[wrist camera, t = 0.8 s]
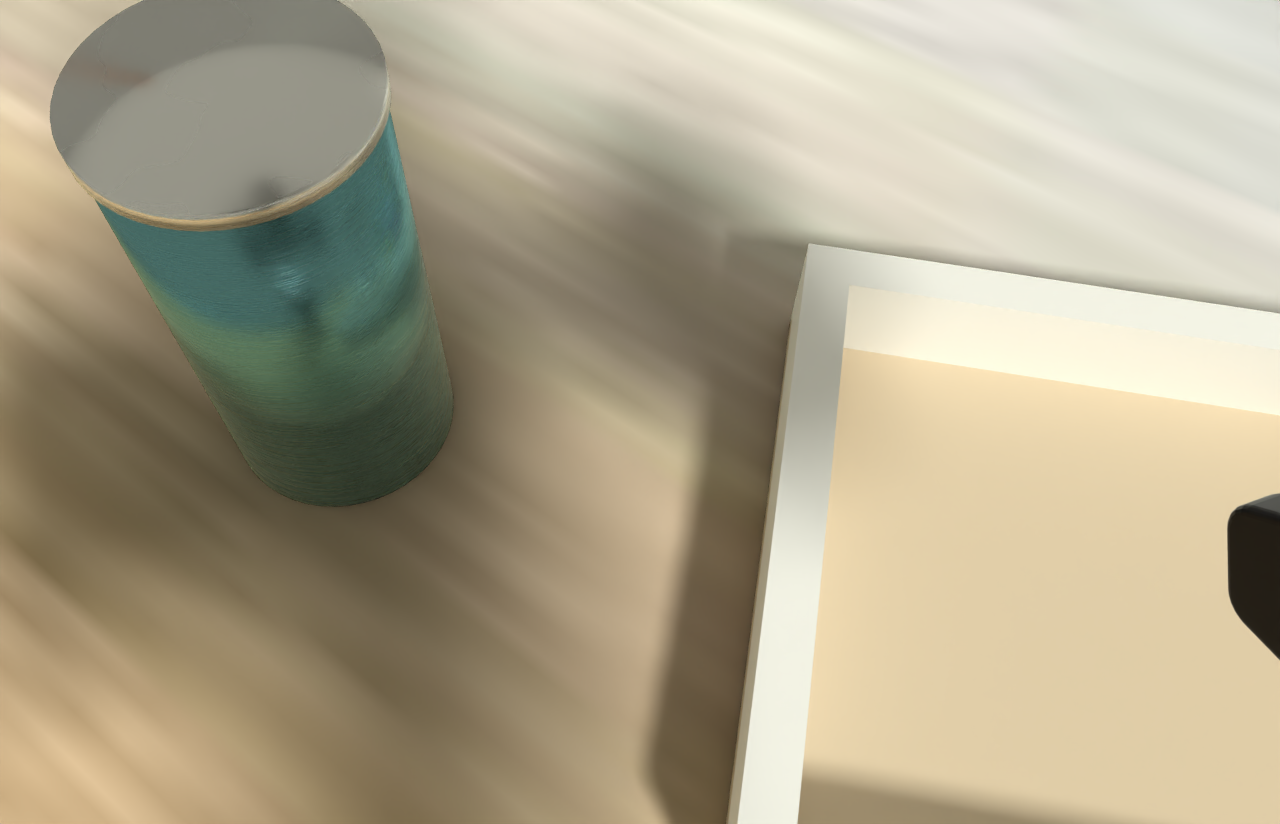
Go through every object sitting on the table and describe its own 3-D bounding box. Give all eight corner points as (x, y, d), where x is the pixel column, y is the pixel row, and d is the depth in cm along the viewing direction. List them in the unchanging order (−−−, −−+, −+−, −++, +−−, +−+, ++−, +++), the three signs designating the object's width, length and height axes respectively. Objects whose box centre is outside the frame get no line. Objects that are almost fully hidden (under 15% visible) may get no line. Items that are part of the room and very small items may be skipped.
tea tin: (489, 460, 26) (431, 152, 17) (265, 544, 25) (83, 257, 16) (416, 292, 28) (334, -52, 20) (209, 361, 27) (24, 26, 19)
